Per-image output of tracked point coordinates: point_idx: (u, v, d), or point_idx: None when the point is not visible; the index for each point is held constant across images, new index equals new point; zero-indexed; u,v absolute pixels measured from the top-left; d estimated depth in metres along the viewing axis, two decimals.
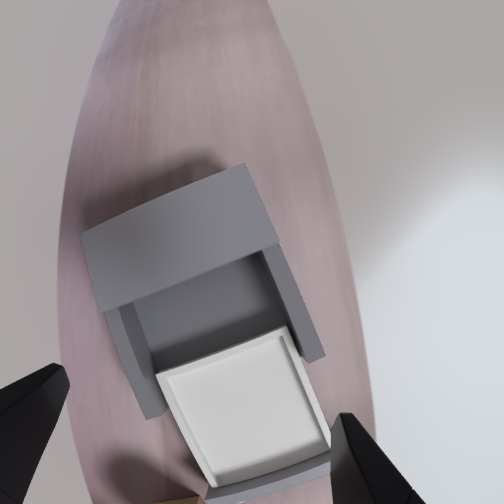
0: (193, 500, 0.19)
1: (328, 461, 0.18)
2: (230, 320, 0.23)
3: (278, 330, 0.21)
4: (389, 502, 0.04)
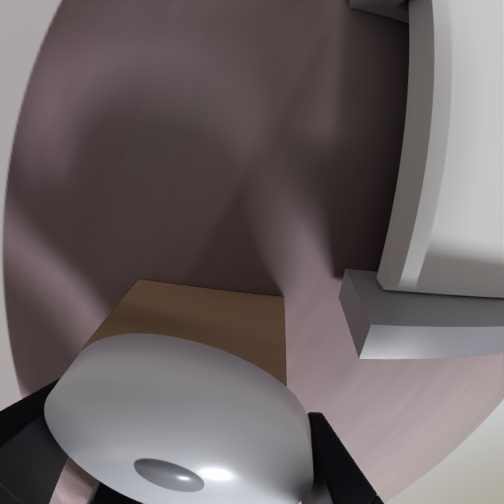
0: (268, 306, 0.09)
1: None
2: None
3: None
4: None
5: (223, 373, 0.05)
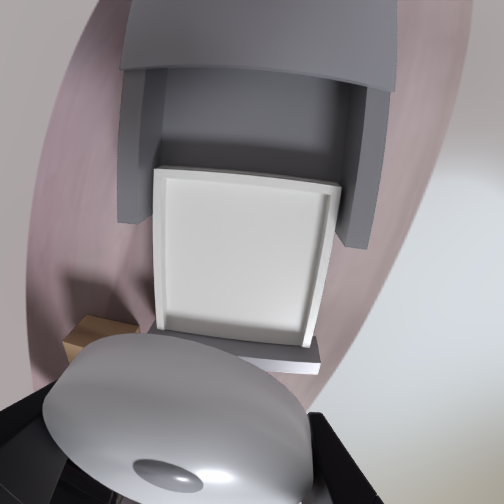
0: (130, 329, 0.22)
1: (293, 361, 0.19)
2: (278, 143, 0.17)
3: (330, 186, 0.15)
4: None
5: (222, 373, 0.05)
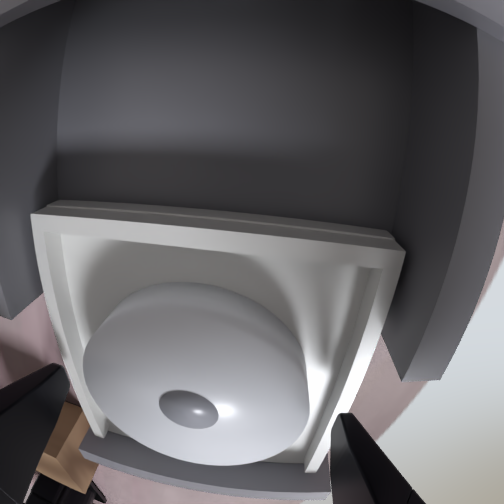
0: (72, 414, 0.13)
1: (290, 491, 0.10)
2: (268, 147, 0.08)
3: (381, 251, 0.07)
4: (390, 502, 0.04)
5: (238, 307, 0.08)
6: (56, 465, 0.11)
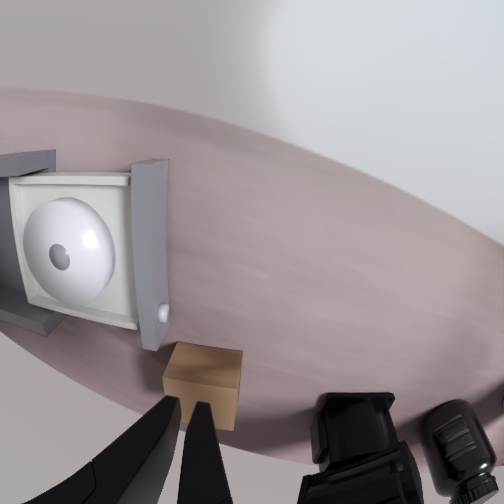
0: None
1: (132, 197, 0.15)
2: None
3: (9, 185, 0.16)
4: (198, 501, 0.05)
5: None
6: (178, 384, 0.19)
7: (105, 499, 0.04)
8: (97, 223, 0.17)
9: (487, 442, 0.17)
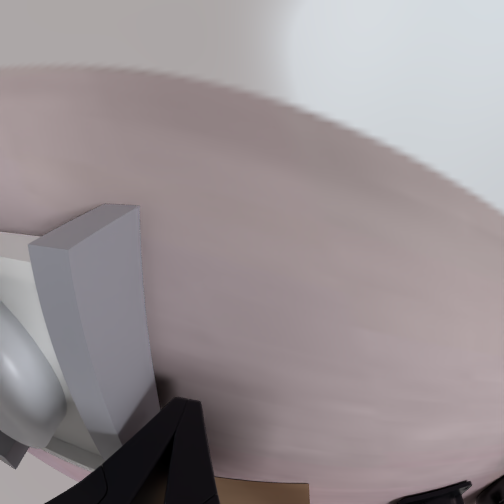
0: None
1: (49, 326, 0.05)
2: None
3: None
4: (185, 499, 0.05)
5: None
6: None
7: (117, 503, 0.04)
8: (13, 343, 0.07)
9: None
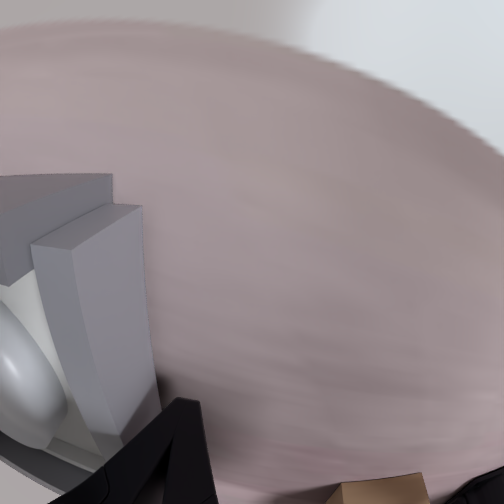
0: (339, 496, 0.12)
1: (52, 327, 0.05)
2: None
3: None
4: (183, 499, 0.05)
5: None
6: None
7: None
8: (14, 343, 0.07)
9: None
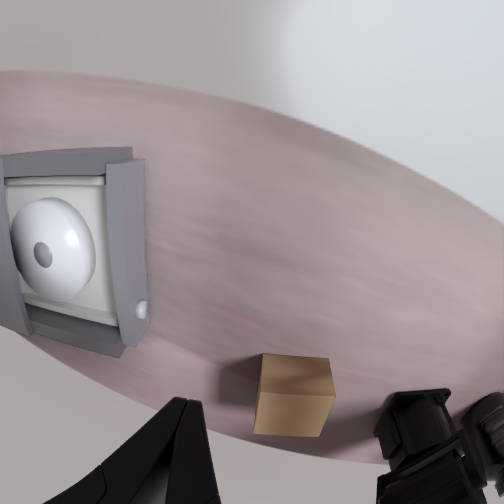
0: None
1: (107, 196, 0.15)
2: None
3: None
4: (186, 499, 0.05)
5: None
6: (276, 397, 0.18)
7: (116, 503, 0.04)
8: (77, 222, 0.17)
9: None
